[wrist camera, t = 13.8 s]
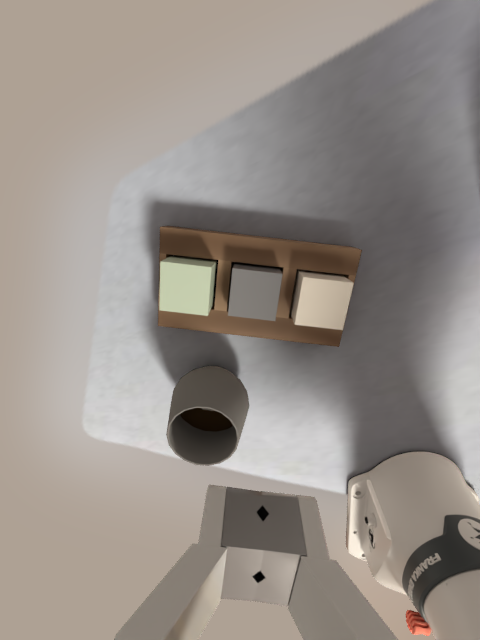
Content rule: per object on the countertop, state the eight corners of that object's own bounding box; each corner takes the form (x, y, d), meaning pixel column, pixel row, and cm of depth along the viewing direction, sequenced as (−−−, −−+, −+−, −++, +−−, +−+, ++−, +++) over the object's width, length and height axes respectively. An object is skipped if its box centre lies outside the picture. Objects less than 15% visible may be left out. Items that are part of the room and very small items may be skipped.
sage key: (213, 303, 35) (207, 315, 31) (170, 298, 35) (159, 310, 31) (216, 260, 34) (211, 267, 29) (171, 255, 34) (160, 261, 29)
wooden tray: (332, 336, 38) (339, 346, 35) (165, 317, 38) (158, 325, 35) (352, 247, 34) (361, 250, 31) (167, 225, 34) (160, 226, 31)
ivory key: (332, 316, 36) (342, 330, 31) (289, 311, 36) (294, 324, 31) (341, 274, 34) (353, 282, 30) (297, 269, 34) (303, 277, 30)
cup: (173, 357, 40) (148, 402, 30) (244, 350, 39) (241, 393, 30) (186, 418, 43) (168, 475, 33) (252, 412, 42) (252, 469, 33)
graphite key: (272, 308, 36) (275, 321, 32) (230, 304, 36) (227, 315, 32) (278, 266, 34) (282, 274, 30) (235, 261, 34) (232, 268, 30)
